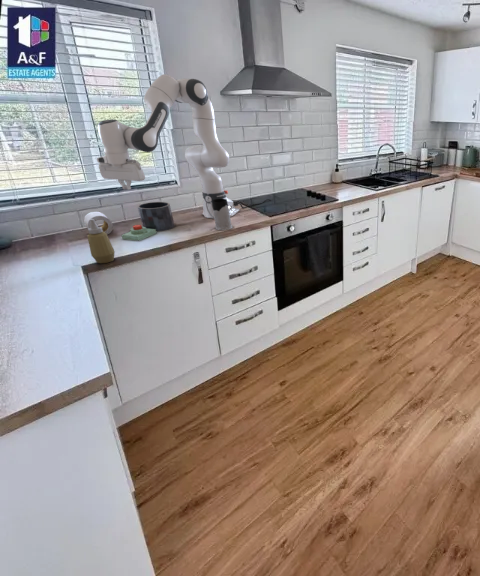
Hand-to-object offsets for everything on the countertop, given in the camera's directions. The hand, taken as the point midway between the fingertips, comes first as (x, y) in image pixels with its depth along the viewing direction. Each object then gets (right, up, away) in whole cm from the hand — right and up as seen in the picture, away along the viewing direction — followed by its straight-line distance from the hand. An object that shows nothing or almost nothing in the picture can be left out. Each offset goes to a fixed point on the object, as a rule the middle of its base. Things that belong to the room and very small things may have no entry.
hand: (127, 189), depth 174 cm
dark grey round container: (+1, -14, +24) cm, 28 cm away
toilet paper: (-22, -19, +12) cm, 31 cm away
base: (-1, -21, +10) cm, 23 cm away
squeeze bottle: (+4, -36, -18) cm, 40 cm away
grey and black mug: (+32, -14, +28) cm, 44 cm away
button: (-1, -17, +9) cm, 20 cm away
